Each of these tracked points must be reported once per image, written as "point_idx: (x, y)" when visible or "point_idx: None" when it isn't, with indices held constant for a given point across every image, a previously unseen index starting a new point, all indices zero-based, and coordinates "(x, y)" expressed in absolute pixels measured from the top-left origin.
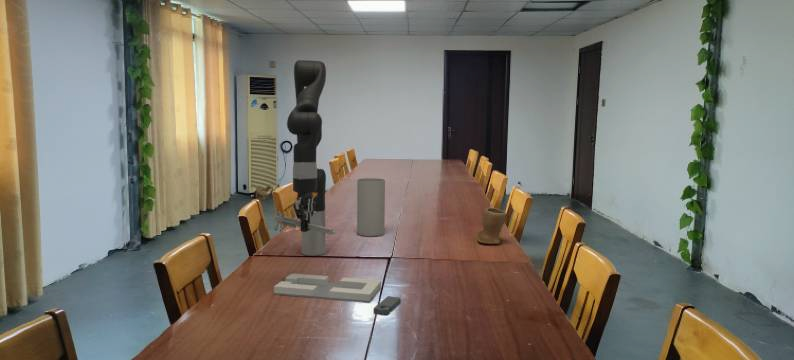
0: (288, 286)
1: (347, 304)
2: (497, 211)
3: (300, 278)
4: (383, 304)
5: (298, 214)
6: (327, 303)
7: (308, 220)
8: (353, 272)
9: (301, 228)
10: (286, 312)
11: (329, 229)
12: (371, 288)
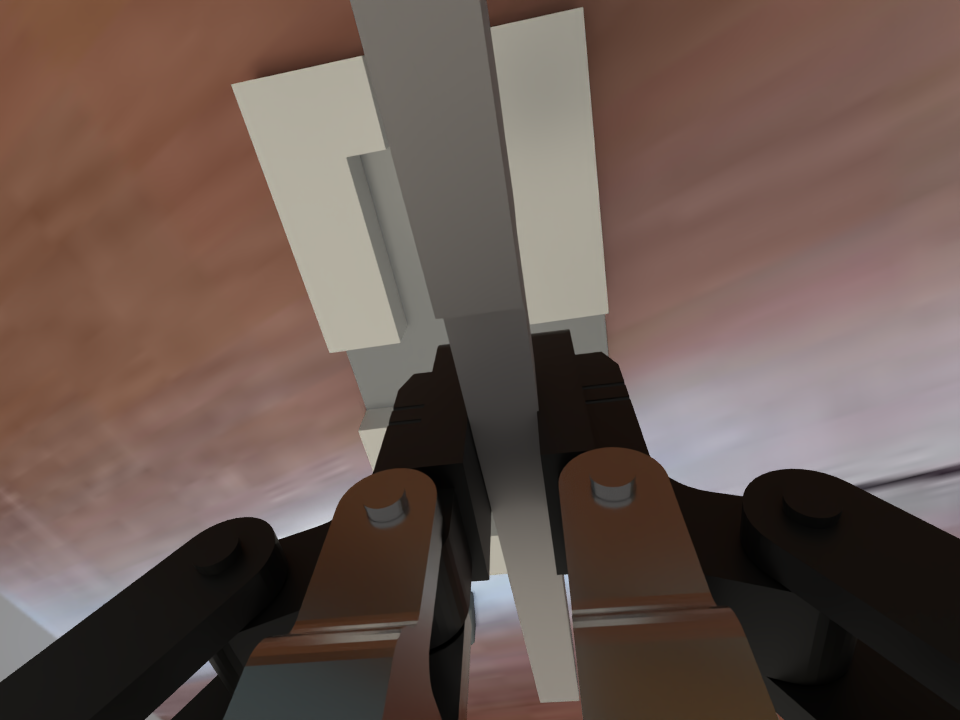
0: (291, 185)
1: None
2: None
3: None
4: None
5: (163, 653)
6: (317, 421)
7: (555, 543)
8: (891, 324)
9: (399, 401)
10: (104, 317)
11: (538, 684)
12: (492, 565)
